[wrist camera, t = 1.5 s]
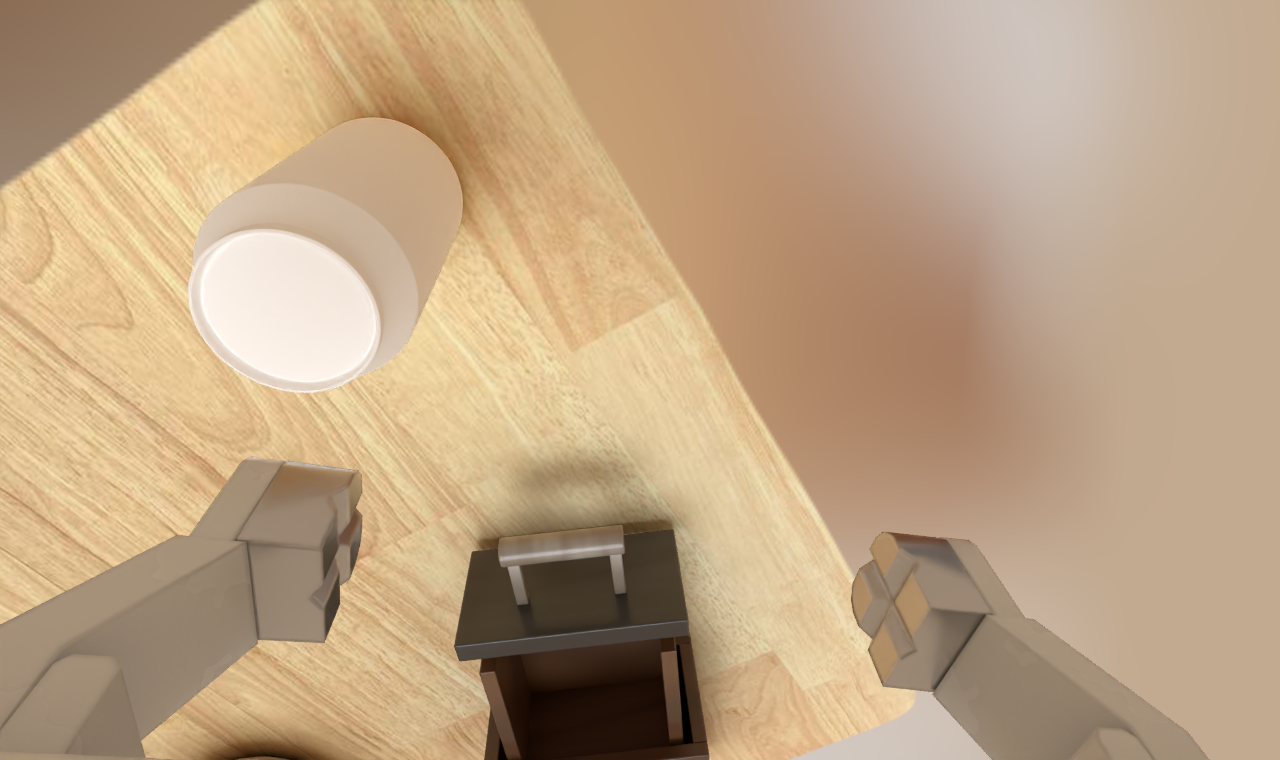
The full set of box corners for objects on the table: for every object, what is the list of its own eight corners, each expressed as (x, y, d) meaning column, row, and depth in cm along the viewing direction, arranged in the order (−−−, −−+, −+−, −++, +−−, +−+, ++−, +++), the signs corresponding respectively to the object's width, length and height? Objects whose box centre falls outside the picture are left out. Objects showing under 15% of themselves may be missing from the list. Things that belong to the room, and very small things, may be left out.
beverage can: (391, 286, 31) (297, 447, 21) (279, 172, 28) (106, 295, 18) (497, 206, 29) (452, 337, 19) (391, 78, 26) (271, 152, 16)
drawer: (454, 493, 36) (432, 586, 31) (669, 470, 36) (684, 558, 31) (511, 687, 45) (501, 786, 40) (684, 667, 45) (697, 763, 40)
